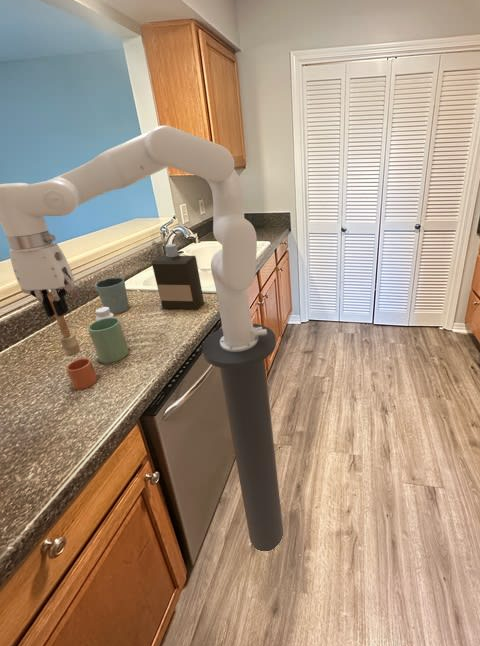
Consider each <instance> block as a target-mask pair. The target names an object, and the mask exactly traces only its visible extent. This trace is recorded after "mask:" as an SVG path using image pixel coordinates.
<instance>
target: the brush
mask: <svg viewBox="0 0 480 646" xmlns="http://www.w3.org/2000/svg"><path fill="white" fill-rule="evenodd" d="M47 296H48V299H49V302H50V304H51V307H52V309H53V312H54V315H53V316H54V317H55V320H56V322H57V324H58V328H59V330H60V332H61V336H60V337H59V341H60V343H61V346H62V348H63V351H64V354H65V356H67V357H72V356H76V355H78V354H79V353H80V352H81V348H80V345H79V343H78V339H77V337H76V335H75V333H74V332H71V331H70V330H69V326H68V324H67V321H66V318H65V316H64V314H63V315H62V316H58V315H57V313H56V310H55V308H54V305H53V301H55V300H54V298H53V295H52V292H51V291H49V293H47Z"/></svg>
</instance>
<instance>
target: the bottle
mask: <svg viewBox="0 0 480 646" xmlns="http://www.w3.org/2000/svg"><path fill="white" fill-rule="evenodd" d="M165 251H166V255H158V256H157V257H155V258H153V259H151V260H150V262H151V266H152V270H153V274H154V278H155V282H156V286H157V291H158V295H159V299H160V303H161V307H162V309H168V310H169V309H170V310H171V309H172V310H199V308H200V307H201V306H203V304H204V302H205V300H204V295H203V289H202V282H201V278H200V272H199V266H198V261H197V257H196V255H181V254H179V250H178V245H177V244H176V243H170V244H166V245H165Z"/></svg>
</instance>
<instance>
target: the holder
mask: <svg viewBox="0 0 480 646" xmlns="http://www.w3.org/2000/svg"><path fill="white" fill-rule="evenodd" d="M65 370H66V372H67V375H68V378H69V380H70V382H71V385H72V387H73V388H74V390H84V389H87V388H89V387H92V386H93V385H94V384H96V383H97V381H98V376H97V373H96V371H95V367H94V365H93V362H92V359H91V358H89V357H83V358H78V359H75V360H73V361H71V362H69V363H68V364H67V366H66V367H65Z"/></svg>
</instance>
